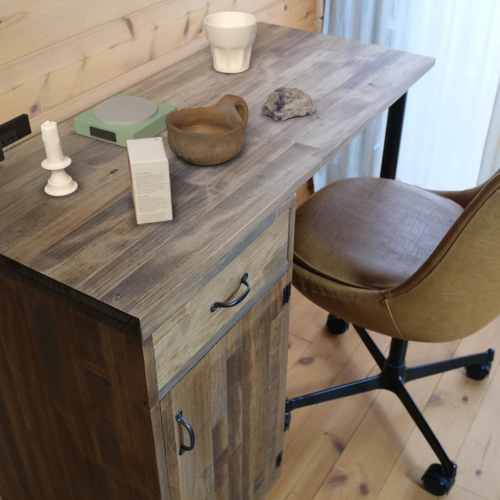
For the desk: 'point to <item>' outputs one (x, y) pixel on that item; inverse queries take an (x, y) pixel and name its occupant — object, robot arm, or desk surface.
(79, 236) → the desk surface
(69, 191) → the candle
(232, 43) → the cup
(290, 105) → the mineral specimen
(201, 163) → the bowl
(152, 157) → the small box
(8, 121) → the robot arm
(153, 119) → the scale
